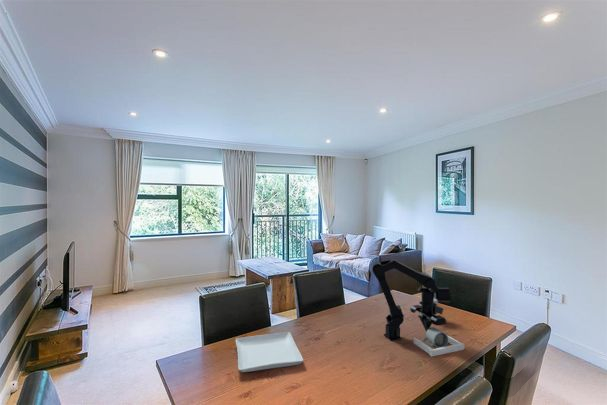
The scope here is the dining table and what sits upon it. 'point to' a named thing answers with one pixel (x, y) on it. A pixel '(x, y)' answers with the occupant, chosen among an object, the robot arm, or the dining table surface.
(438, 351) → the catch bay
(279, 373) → the dining table surface
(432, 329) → the ceramic mug
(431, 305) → the robot arm
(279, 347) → the square plate
